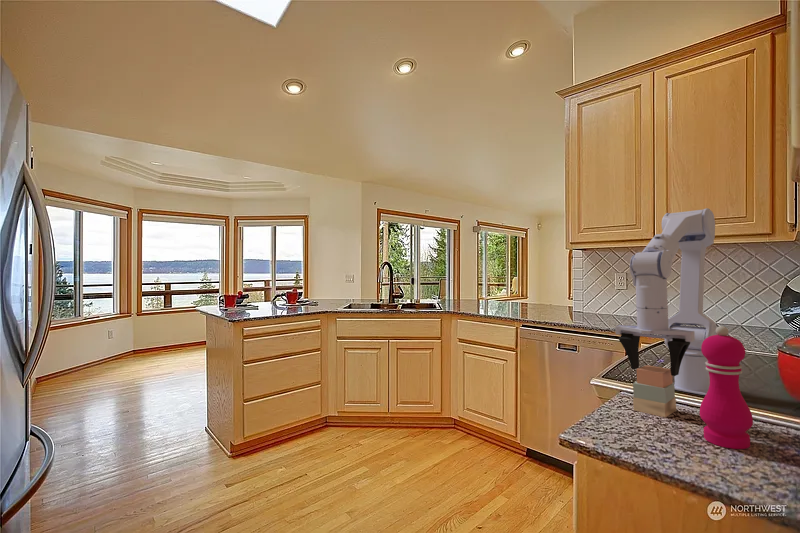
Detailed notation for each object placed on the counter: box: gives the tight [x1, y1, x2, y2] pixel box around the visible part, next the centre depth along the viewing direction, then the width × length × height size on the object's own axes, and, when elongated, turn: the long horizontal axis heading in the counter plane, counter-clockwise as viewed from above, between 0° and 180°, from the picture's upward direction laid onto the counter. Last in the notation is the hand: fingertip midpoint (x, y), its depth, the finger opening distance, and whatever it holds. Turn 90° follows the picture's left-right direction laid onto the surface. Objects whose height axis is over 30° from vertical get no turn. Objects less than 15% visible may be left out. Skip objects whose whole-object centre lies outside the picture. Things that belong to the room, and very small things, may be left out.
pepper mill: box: [699, 325, 754, 450], centre depth 70 cm, size 7×7×20 cm
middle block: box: [632, 380, 676, 404], centre depth 86 cm, size 6×6×3 cm
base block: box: [632, 396, 677, 418], centre depth 86 cm, size 6×6×3 cm
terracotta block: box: [636, 364, 674, 388], centre depth 86 cm, size 5×5×3 cm
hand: (654, 371), depth 86 cm, fingers open, 7 cm apart
